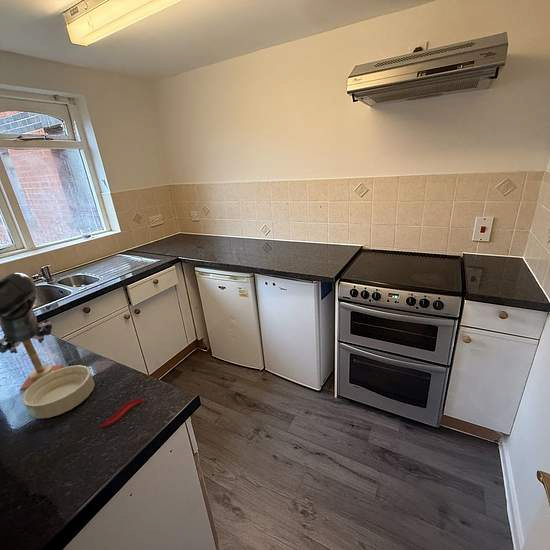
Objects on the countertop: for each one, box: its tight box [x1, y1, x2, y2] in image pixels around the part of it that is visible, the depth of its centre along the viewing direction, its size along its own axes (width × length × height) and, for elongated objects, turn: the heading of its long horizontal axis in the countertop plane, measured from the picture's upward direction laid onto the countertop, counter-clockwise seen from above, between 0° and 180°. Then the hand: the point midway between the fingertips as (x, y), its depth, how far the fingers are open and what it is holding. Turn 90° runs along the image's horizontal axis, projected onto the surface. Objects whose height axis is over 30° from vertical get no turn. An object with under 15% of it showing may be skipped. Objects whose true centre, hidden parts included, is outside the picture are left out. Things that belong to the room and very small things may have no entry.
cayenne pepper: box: [98, 398, 147, 428], centre depth 79 cm, size 12×5×2 cm, turn 126°
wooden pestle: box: [21, 339, 53, 382], centre depth 94 cm, size 6×6×15 cm
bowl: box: [21, 364, 96, 420], centre depth 86 cm, size 16×16×5 cm
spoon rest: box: [19, 363, 64, 391], centre depth 97 cm, size 9×9×1 cm
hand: (27, 345), depth 94 cm, fingers open, 5 cm apart
